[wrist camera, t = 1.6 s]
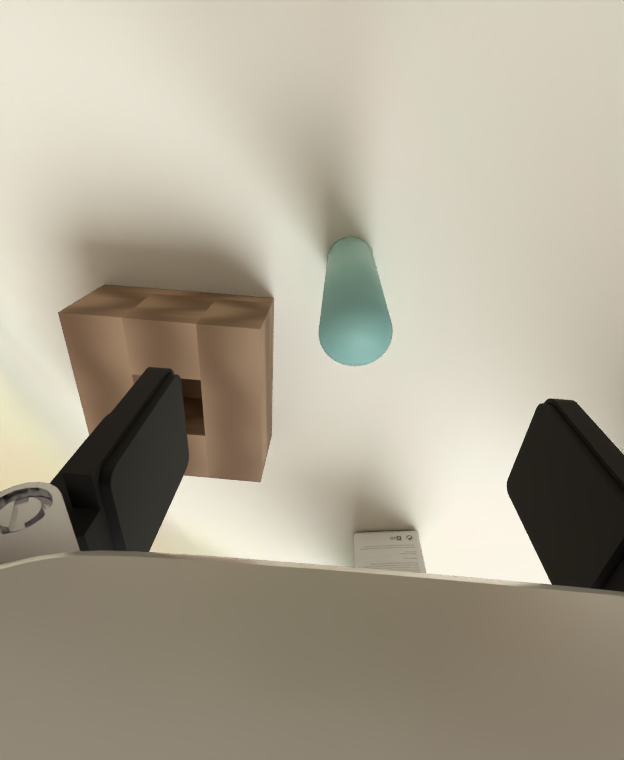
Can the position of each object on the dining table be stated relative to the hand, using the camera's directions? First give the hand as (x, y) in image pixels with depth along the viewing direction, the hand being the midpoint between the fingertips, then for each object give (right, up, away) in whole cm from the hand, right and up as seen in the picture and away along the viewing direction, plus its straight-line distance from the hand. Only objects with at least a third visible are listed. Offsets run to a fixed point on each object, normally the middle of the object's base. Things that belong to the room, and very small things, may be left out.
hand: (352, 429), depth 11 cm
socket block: (-10, +2, +21) cm, 24 cm away
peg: (+1, +9, +16) cm, 19 cm away
